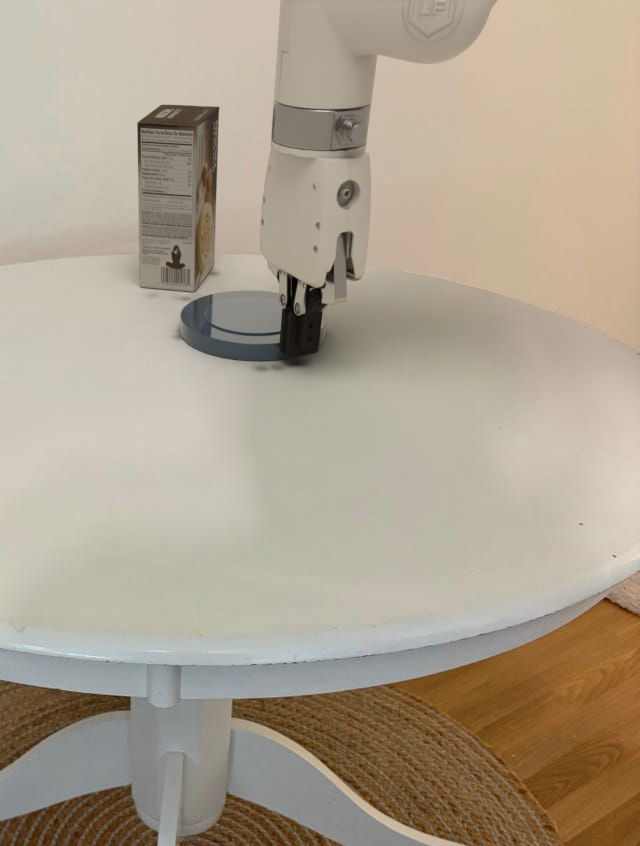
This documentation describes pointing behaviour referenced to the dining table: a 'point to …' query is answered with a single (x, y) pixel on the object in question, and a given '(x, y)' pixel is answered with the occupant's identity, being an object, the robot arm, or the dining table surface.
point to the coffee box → (177, 195)
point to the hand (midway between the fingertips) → (298, 352)
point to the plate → (237, 325)
